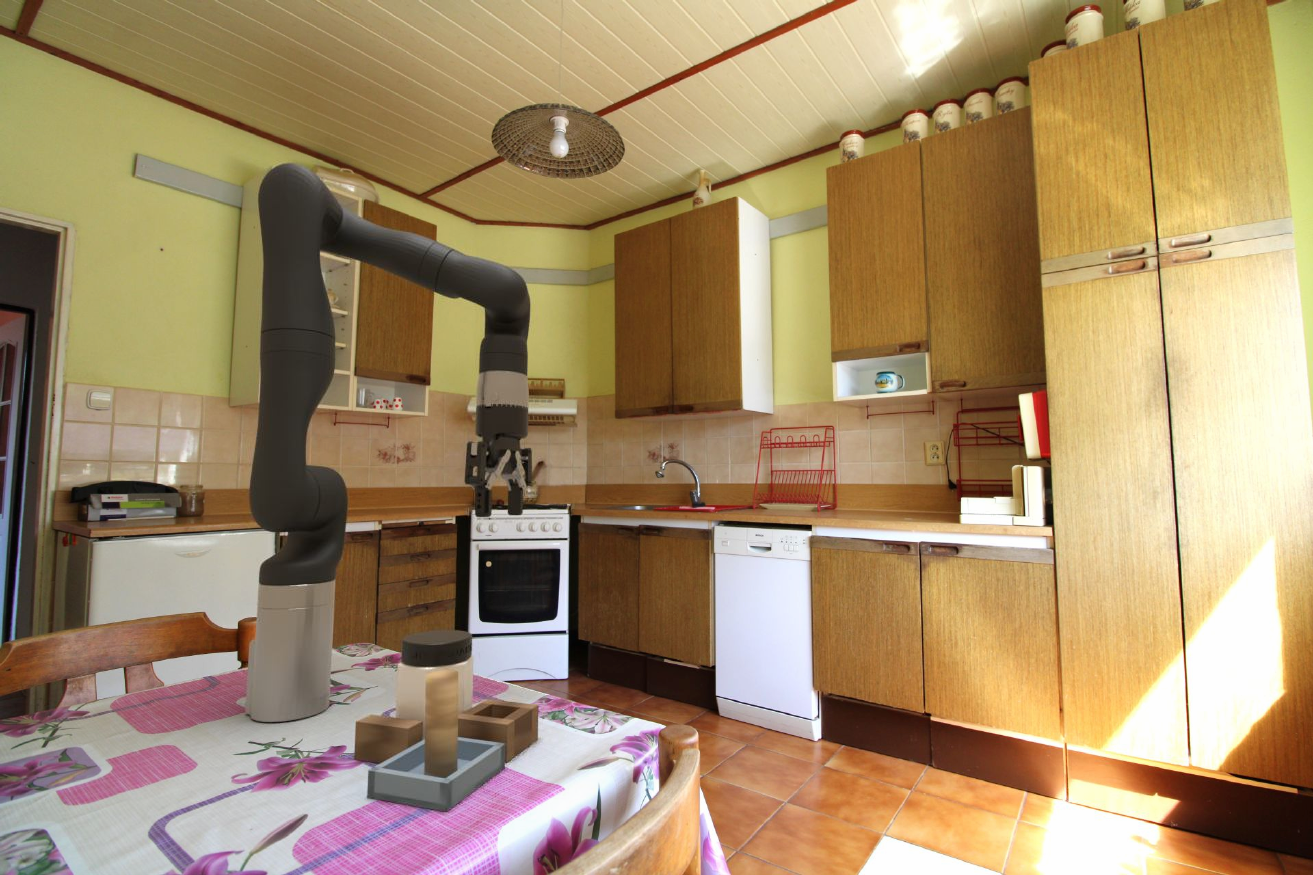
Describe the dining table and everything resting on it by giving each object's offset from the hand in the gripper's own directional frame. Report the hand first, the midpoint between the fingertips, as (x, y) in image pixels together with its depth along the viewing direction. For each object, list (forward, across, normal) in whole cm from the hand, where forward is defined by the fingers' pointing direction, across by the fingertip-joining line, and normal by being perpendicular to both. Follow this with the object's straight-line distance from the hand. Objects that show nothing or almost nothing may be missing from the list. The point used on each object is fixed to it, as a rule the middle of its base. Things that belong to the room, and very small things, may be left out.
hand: (499, 516), depth 92 cm
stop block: (+26, +21, 0) cm, 33 cm away
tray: (+26, +24, +8) cm, 36 cm away
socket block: (+26, +14, +9) cm, 31 cm away
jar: (+26, +14, +1) cm, 30 cm away
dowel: (+26, +24, +9) cm, 36 cm away
